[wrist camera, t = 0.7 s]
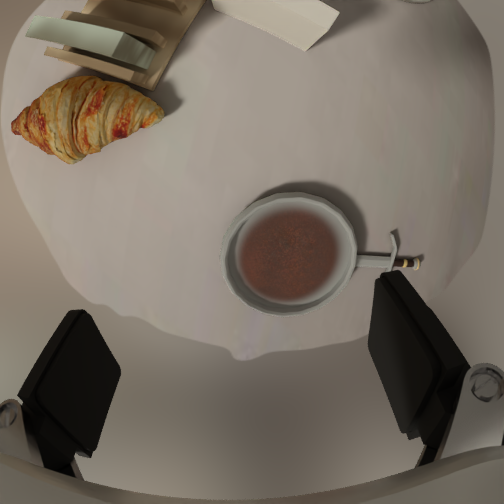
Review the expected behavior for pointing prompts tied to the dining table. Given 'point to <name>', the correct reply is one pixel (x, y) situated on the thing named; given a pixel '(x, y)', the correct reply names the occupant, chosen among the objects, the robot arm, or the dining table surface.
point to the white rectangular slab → (283, 18)
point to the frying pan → (294, 254)
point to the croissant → (84, 117)
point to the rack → (119, 36)
